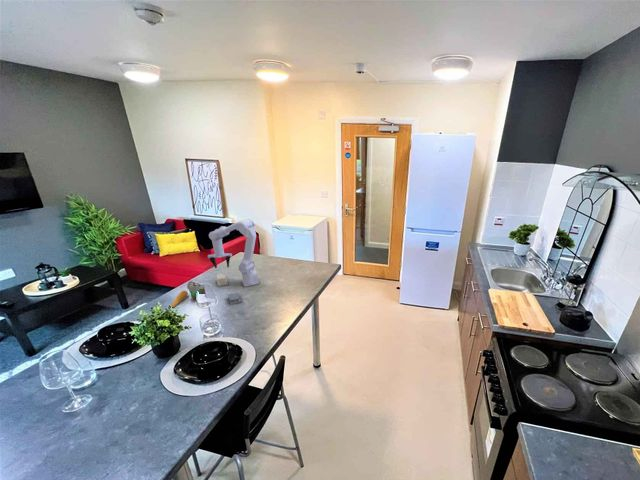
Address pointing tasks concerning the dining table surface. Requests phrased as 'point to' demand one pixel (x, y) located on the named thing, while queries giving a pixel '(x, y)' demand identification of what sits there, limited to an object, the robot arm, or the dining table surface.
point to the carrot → (179, 298)
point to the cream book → (221, 277)
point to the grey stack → (234, 298)
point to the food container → (195, 289)
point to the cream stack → (222, 282)
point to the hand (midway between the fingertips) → (222, 267)
